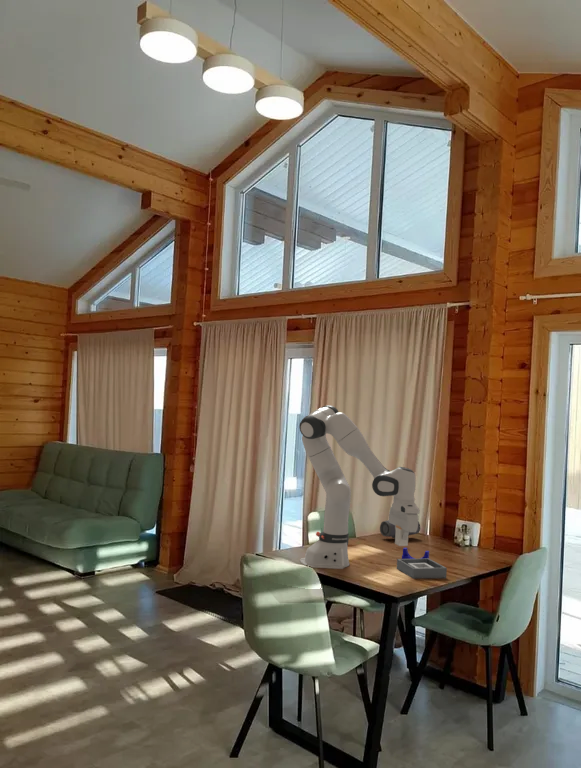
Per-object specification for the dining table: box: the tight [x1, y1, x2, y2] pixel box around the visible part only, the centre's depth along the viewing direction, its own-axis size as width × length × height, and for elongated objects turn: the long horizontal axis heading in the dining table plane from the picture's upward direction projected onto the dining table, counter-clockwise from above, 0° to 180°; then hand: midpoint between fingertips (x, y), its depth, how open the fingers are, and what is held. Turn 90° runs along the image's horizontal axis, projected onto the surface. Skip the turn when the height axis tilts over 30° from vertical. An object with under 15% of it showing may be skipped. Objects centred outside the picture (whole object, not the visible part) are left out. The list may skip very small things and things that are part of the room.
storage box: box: [396, 557, 448, 579], centre depth 290 cm, size 16×16×5 cm
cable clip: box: [401, 547, 430, 559], centre depth 311 cm, size 12×4×6 cm, turn 69°
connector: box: [394, 525, 409, 547], centre depth 277 cm, size 4×4×8 cm
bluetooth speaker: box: [379, 519, 421, 539], centre depth 365 cm, size 23×9×10 cm, turn 121°
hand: (401, 538), depth 277 cm, fingers closed on connector, 4 cm apart
